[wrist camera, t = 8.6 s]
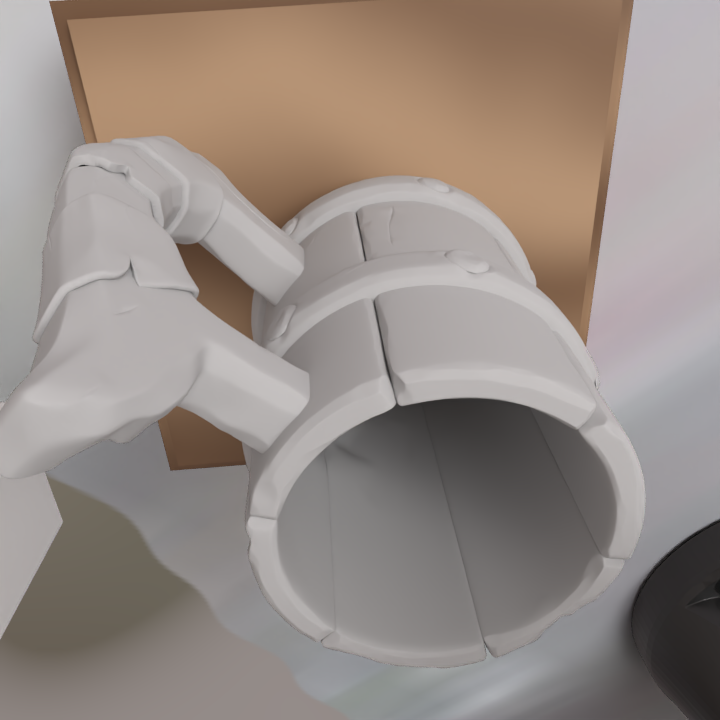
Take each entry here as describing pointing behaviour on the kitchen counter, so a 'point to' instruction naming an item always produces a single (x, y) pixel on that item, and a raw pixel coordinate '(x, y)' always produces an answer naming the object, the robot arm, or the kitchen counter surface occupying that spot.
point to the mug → (342, 397)
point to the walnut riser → (365, 120)
